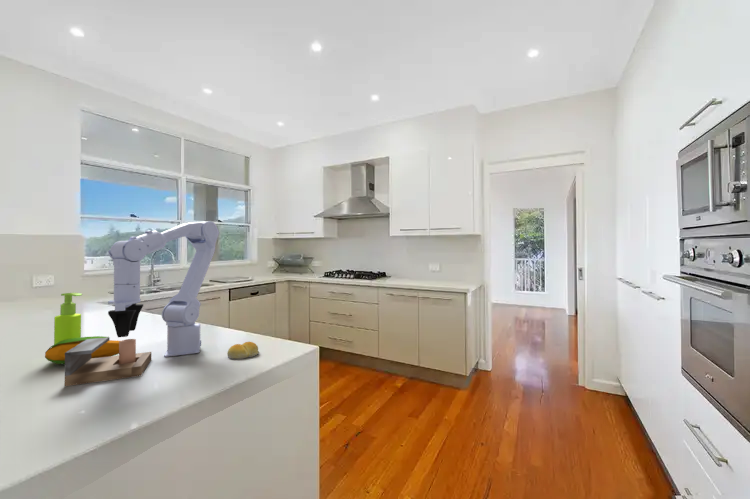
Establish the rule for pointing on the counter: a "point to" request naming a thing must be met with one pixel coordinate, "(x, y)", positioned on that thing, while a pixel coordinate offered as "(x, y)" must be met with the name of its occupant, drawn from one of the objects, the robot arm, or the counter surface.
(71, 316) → the soap dispenser
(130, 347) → the peg
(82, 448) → the counter surface
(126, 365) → the socket station
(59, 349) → the corn
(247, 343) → the bread roll
